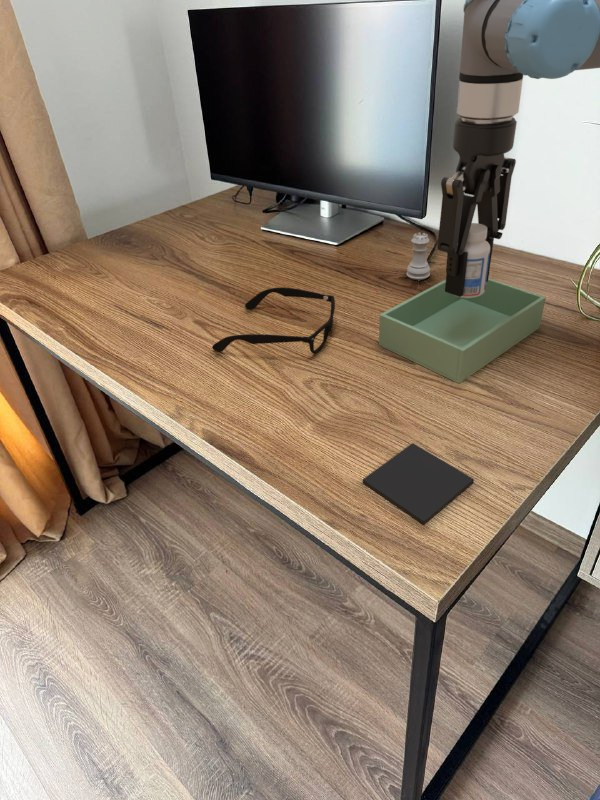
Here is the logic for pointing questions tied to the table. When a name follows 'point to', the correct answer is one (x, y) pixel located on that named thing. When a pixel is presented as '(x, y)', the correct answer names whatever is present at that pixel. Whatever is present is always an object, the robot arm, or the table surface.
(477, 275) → the pill bottle
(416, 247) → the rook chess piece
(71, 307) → the table surface
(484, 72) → the robot arm
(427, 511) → the mat
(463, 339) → the tote
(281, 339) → the glasses
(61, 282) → the table surface
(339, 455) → the table surface
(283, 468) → the table surface
